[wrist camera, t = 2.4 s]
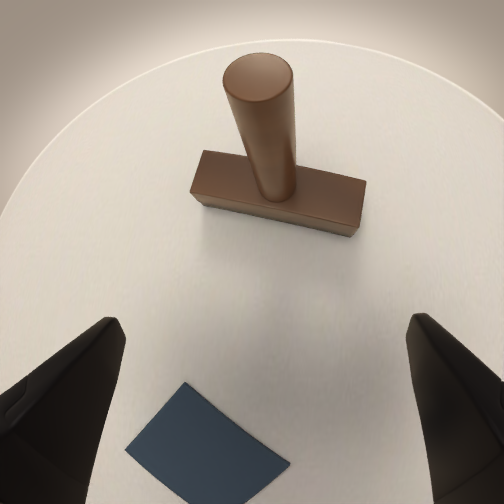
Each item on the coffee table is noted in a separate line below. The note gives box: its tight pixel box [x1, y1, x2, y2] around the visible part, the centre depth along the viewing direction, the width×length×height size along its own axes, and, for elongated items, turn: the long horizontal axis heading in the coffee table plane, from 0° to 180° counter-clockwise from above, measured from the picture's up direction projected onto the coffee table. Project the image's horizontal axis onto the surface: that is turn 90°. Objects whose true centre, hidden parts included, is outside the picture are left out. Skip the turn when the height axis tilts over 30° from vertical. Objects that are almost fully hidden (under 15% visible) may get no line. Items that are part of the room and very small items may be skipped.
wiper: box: [190, 53, 366, 237], centre depth 16 cm, size 3×11×14 cm, turn 75°
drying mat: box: [125, 382, 290, 504], centre depth 20 cm, size 10×9×1 cm
